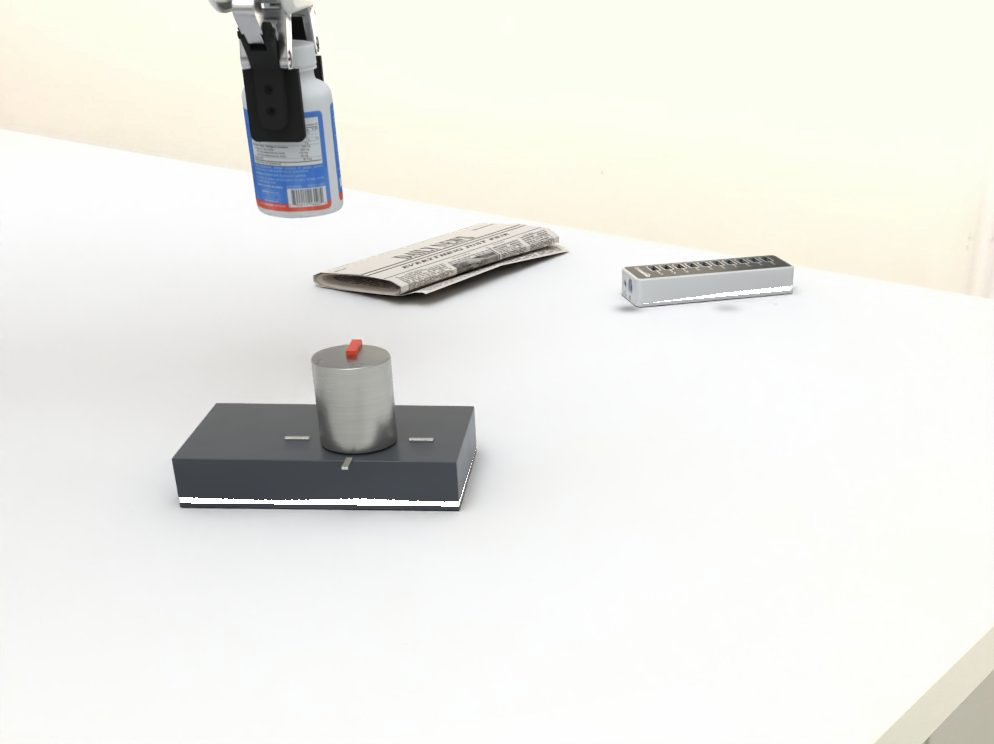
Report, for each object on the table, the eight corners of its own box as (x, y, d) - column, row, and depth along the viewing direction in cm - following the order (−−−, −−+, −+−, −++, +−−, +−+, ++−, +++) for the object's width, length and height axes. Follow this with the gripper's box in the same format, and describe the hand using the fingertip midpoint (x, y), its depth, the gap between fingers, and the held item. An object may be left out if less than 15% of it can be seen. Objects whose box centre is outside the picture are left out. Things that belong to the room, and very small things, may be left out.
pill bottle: (287, 198, 87) (267, 36, 83) (359, 204, 86) (344, 40, 81) (239, 215, 83) (215, 45, 78) (315, 222, 81) (295, 49, 77)
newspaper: (420, 309, 110) (415, 278, 109) (317, 300, 117) (311, 271, 116) (581, 251, 127) (578, 224, 125) (482, 246, 133) (479, 220, 132)
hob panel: (172, 517, 75) (163, 464, 73) (222, 447, 84) (215, 400, 82) (456, 520, 75) (453, 468, 73) (476, 450, 84) (474, 403, 82)
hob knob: (391, 454, 75) (383, 363, 73) (313, 454, 75) (302, 363, 73) (402, 426, 79) (395, 339, 76) (328, 425, 79) (318, 338, 76)
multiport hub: (794, 293, 116) (795, 266, 115) (637, 307, 111) (637, 279, 110) (772, 280, 119) (774, 254, 118) (620, 293, 115) (620, 266, 114)
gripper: (224, -210, 80) (264, 109, 89) (131, -227, 66) (189, 157, 75) (349, -209, 80) (375, 110, 90) (283, -225, 66) (323, 159, 75)
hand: (290, 128), depth 82 cm, fingers closed on pill bottle, 5 cm apart
